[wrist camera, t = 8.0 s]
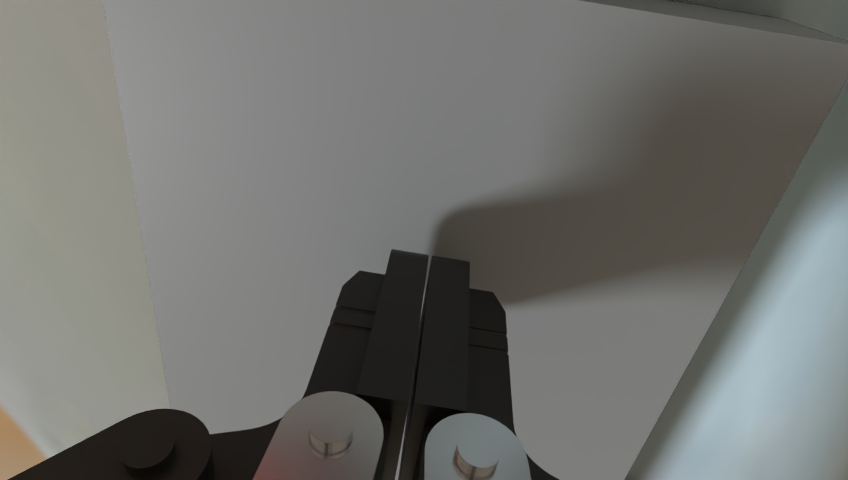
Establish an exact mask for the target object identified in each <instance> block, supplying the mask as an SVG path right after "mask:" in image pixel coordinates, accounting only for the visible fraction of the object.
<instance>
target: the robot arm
mask: <svg viewBox="0 0 848 480" xmlns="http://www.w3.org/2000/svg"><path fill="white" fill-rule="evenodd" d="M428 258H429V255H426V254H420V253H414V252H408V251H401V250H395V249H391V253H390V257H389V261H388V265H387V269H386V273H385V274H378V273H372V272H366V271H360V270H359V271H358V272H357V273H356V274H355V275H354V276H353V277H352V278H350V279H349V280H348V281H347V282H346V283H345V284H344V285H343V286H342V289H341V292H340V294H339V297H338V300H337V303H336V307H335V309H334V312H333V314H332V317H331V320H330V325H329V326H328V329H327V332H326V334H325V337H324V340H323V343H322V346H321V349H320V352H319V354H318V357H317V360H316V363H315V366H314V369H313V372H312V375H311V377H310V380H309V383H308V386H307V389H306V391H305V393H304V396H303V397H302V399H301V400H300V401H298V402H296V403H295V404H294V405H293V406H291V407H290V408H289V410H288V411H287V412H286V413H285V414H284V416H283V417H282V418H280V419H278V420H277V421H274V422H272V423H270V424H268V425H264V426H261V427H258V428H253V429H247V430H240V431H232V432H224V433H216V434H209V431H208V429H207V428H206V426H205V425H204V423H203V422H202V421H201V420H200V419H198V418H197V417H195V416H194V415H192V414H190V413H187V412H185V411H181V410H176V409H155V410H150V411H145V412H142V413H138V414H135V415H133V416H131V417H128V418H126V419H124V420H122V421H120V422H118V423H116V424H114V425H112V426H110V427H109V428H107V429H105V430H103V431H101V432H99V433H97V434H95V435H93V436H91V437H89V438H87V439H85V440H83V441H82V442H80V443H78V444H76V445H74V446H72V447H70V448H68V449H66V450H64V451H62V452H60V453H58V454H56V455H54V456H53V457H51V458H49V459H47V460H45V461H43V462H41V463H39V464H37V465H35V466H33V467H31V468H29V469H27V470H26V471H24V472H22V473H20V474H18V475H16V476H14V477H12V478H10V479H8V480H395V476H396V471H397V465H398V460H399V454H400V449H401V444H402V438H403V433H404V440H403V447H402V454H401V462H400V469H399V477H398V480H559V479H558V478H556V477H554V476H552V475H550V474H549V473H547V472H546V471H544V470H543V469H542V468H540V467H539V466H538V465H537V464H536V463H535V462H534V461H533V460H532V459H531V458H530V457H529V456H528V455H527V453H526V452H525V450H524V448H523V446H522V444H521V442H520V441H519V439H518V438H517V436H516V433H515V429H514V423H513V409H512V395H511V381H510V367H509V355H508V339H507V337H506V336H507V325H506V312H505V310H504V309H503V307H502V305H501V304H500V302H499V300H498V299H497V297H496V296H495V294H494V292H490V291H484V290H478V289H472V288H469V287H470V262H469V261H464V260H458V259H451V258H445V257H439V256H433V255H432V258H431V263H430V269H429V274H428V280H427V285H426V291H425V297H424V302H423V295H424V288H425V281H426V273H427V266H428ZM422 303H423V308H422ZM421 310H422V313H421ZM420 318H421V319H420ZM406 416H407V418H406ZM405 422H406V425H405ZM404 427H405V432H404Z"/></svg>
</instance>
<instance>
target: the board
mask: <svg viewBox="0 0 848 480" xmlns="http://www.w3.org/2000/svg"><path fill="white" fill-rule="evenodd" d="M103 4H104V10H105V16H106V22H107V29H108V35H109V41H110V47H111V53H112V59H113V65H114V71H115V77H116V83H117V89H118V95H119V101H120V107H121V113H122V119H123V125H124V131H125V137H126V143H127V149H128V155H129V162H130V168H131V174H132V180H133V186H134V192H135V198H136V204H137V210H138V216H139V222H140V228H141V234H142V240H143V246H144V252H145V258H146V264H147V270H148V276H149V282H150V288H151V295H152V301H153V307H154V313H155V319H156V325H157V331H158V337H159V343H160V349H161V355H162V361H163V367H164V373H165V379H166V385H167V391H168V397H169V403H170V409H176V410H181V411H185V412H187V413H190V414H192V415H194V416H195V417H197V418H198V419H200V420H201V421H202V422H203V423H204V425H205V426H206V428H207V429H208V431H209V434H216V433H224V432H232V431H240V430H247V429H253V428H258V427H261V426H264V425H268V424H270V423H272V422H274V421H277V420H278V419H280V418H282V417H283V416H284V414H285V413H286V412H287V411H288V410H289V408H290V407H291V406H293V405H294V404H295V403H296V402H298V401H300V400H301V399H302V397H303V396H304V393H305V391H306V389H307V386H308V383H309V380H310V377H311V375H312V372H313V369H314V366H315V363H316V360H317V357H318V354H319V352H320V349H321V346H322V343H323V340H324V337H325V334H326V332H327V329H328V326H329V325H330V320H331V317H332V314H333V312H334V309H335V307H336V303H337V300H338V297H339V294H340V292H341V289H342V286H343V285H344V284H345V283H346V282H347V281H348V280H349V279H350V278H352V277H353V276H354V275H355V274H356V273H357V272H358V271H359V270H360V271H366V272H372V273H378V274H385V273H386V269H387V265H388V261H389V257H390V253H391V249H395V250H401V251H408V252H414V253H420V254H426V255H429V258H428V266H427V273H426V281H425V288H424V295H423V302H424V297H425V291H426V285H427V280H428V274H429V269H430V263H431V258H432V255H433V256H439V257H445V258H451V259H458V260H464V261H469V262H470V287H469V288H472V289H478V290H484V291H490V292H494V294H495V296H496V297H497V299H498V300H499V302H500V304H501V305H502V307H503V309H504V310H505V312H506V325H507V336H506V337H507V339H508V355H509V367H510V381H511V395H512V409H513V423H514V429H515V433H516V436H517V438H518V439H519V441H520V442H521V444H522V446H523V448H524V450H525V452H526V453H527V455H528V456H529V457H530V458H531V459H532V460H533V461H534V462H535V463H536V464H537V465H538V466H539V467H540V468H542V469H543V470H544V471H546V472H547V473H549V474H550V475H552V476H554V477H556V478H558V479H559V480H624V479H625V478H626V476H627V474H628V472H629V470H630V469H631V467H632V465H633V463H634V461H635V460H636V458H637V456H638V454H639V452H640V451H641V449H642V447H643V445H644V443H645V442H646V440H647V438H648V436H649V434H650V433H651V431H652V429H653V427H654V425H655V424H656V422H657V420H658V418H659V416H660V415H661V413H662V411H663V409H664V407H665V406H666V404H667V402H668V400H669V398H670V397H671V395H672V393H673V391H674V389H675V388H676V386H677V384H678V382H679V380H680V379H681V377H682V375H683V373H684V371H685V370H686V368H687V366H688V364H689V362H690V361H691V359H692V357H693V355H694V353H695V352H696V350H697V348H698V346H699V344H700V343H701V341H702V339H703V337H704V335H705V334H706V332H707V330H708V328H709V326H710V325H711V323H712V321H713V319H714V317H715V316H716V314H717V312H718V310H719V308H720V307H721V305H722V303H723V301H724V299H725V298H726V296H727V294H728V292H729V290H730V289H731V287H732V285H733V283H734V281H735V280H736V278H737V276H738V274H739V272H740V271H741V269H742V267H743V265H744V263H745V262H746V260H747V258H748V256H749V254H750V253H751V251H752V249H753V247H754V245H755V244H756V242H757V240H758V238H759V236H760V235H761V233H762V231H763V229H764V227H765V226H766V224H767V222H768V220H769V218H770V217H771V215H772V213H773V211H774V209H775V208H776V206H777V204H778V202H779V200H780V199H781V197H782V195H783V193H784V192H785V190H786V188H787V186H788V184H789V183H790V181H791V179H792V177H793V175H794V174H795V172H796V170H797V168H798V166H799V165H800V163H801V161H802V159H803V157H804V156H805V154H806V152H807V150H808V148H809V147H810V145H811V143H812V141H813V139H814V138H815V136H816V134H817V132H818V130H819V129H820V127H821V125H822V123H823V121H824V120H825V118H826V116H827V114H828V112H829V111H830V109H831V107H832V105H833V103H834V102H835V100H836V98H837V96H838V94H839V93H840V91H841V89H842V87H843V85H844V84H845V82H846V80H847V78H848V41H845V40H842V39H840V38H837V37H834V36H831V35H828V34H825V33H822V32H819V31H817V30H814V29H811V28H808V27H805V26H802V25H799V24H797V23H794V22H791V21H788V20H785V19H780V18H774V17H767V16H761V15H755V14H749V13H743V12H737V11H731V10H725V9H719V8H713V7H707V6H701V5H694V4H688V3H682V2H676V1H670V0H103ZM422 308H423V303H422ZM421 313H422V310H421ZM420 319H421V318H420ZM406 418H407V416H406ZM405 425H406V422H405ZM404 432H405V427H404ZM403 440H404V433H403V438H402V444H401V449H400V454H399V460H398V465H397V471H396V476H395V480H398V477H399V469H400V462H401V454H402V447H403Z"/></svg>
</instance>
